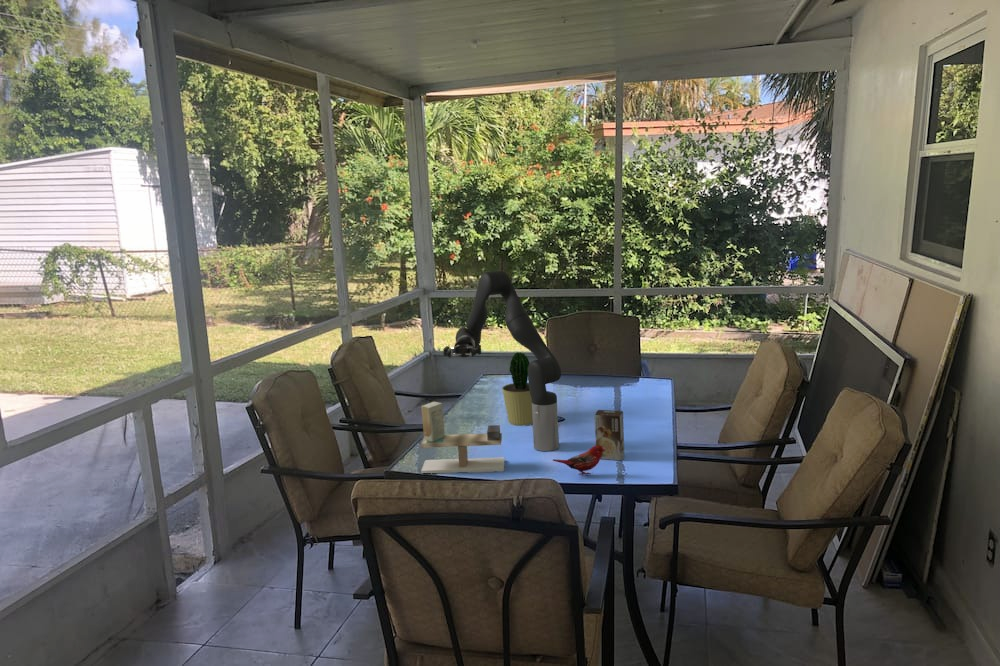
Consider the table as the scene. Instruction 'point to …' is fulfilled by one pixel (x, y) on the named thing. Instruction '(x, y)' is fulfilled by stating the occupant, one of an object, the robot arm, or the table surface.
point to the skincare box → (433, 421)
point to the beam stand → (463, 464)
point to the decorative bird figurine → (584, 459)
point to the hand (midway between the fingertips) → (461, 354)
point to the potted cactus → (518, 392)
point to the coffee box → (610, 433)
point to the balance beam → (467, 439)
